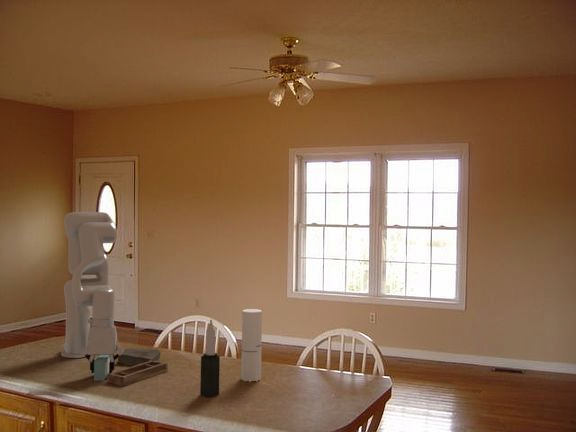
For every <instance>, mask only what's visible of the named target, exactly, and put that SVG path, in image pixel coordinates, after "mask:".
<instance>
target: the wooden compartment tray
mask: <svg viewBox="0 0 576 432" xmlns="http://www.w3.org/2000/svg"><path fill="white" fill-rule="evenodd" d="M168 365H169V364H168V363H167V362H162V361H159V360H157V361H153V360H150V361H148V362H145V363H142V364H139V365H136V366H129V367H126V368H123V369H120V370H117V371H114V372H113V371H112V373H108V374H107V377H106V382H107V383H108V384H112V385H113V384H114V385H117V386H121V387H126V386H130V385H133V384H135V383H138V382H140V381H141V382H142V381H143V380H147V379H150V378H151V377H155V376H158V375H161V374H164V373H166V372H168V370H169V369H168Z"/></svg>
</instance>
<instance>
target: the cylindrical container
mask: <svg viewBox="0 0 576 432" xmlns="http://www.w3.org/2000/svg"><path fill="white" fill-rule="evenodd" d="M241 311H242V317H241V318H242V321H241V324H242V326H241V362H240V363H241V364H240V365H241V367H240V368H241V369H240V370H241V371H240V373H241V374H240V379H242V380H244V381H243V382H246V381H249V382H248V383H252V382H251V381H256V382H259V381H261V380H260V379H261V378H262V340H263V339H262V336H263V335H262V331H263V330H262V328H263V310H261V309H260V308H259V309H257V308H246V309H243V310H241ZM242 380H241V381H242ZM258 380H259V381H258Z"/></svg>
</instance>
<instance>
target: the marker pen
mask: <svg viewBox="0 0 576 432" xmlns="http://www.w3.org/2000/svg"><path fill="white" fill-rule="evenodd" d="M213 324H214V323H213V319H209V324H208V327H207V328H206V336H205V337H206V339H205V343H206V344H205V353H203V355H201V356H200V386H199V387H200V392H199V393H200V394H199V395H200V396H201V397H205V398H214V397H215V396H218V395H220V365H221V364H220V362H221V361H220V360H221V359H220V355H218V353H216V328H215V327H214V325H213Z"/></svg>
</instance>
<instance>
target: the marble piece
mask: <svg viewBox="0 0 576 432" xmlns="http://www.w3.org/2000/svg"><path fill="white" fill-rule="evenodd" d="M123 350H124V352H123V353H122V354H121V355H120V356H119V357H118V358H117V363H118V364H120V365H122V366H123V365H124V366H129V367H132V366H136V365H139V364H142V363H145V362H148V361H150V360H153V361H159V359H161V350H159V349H151V348H134V347H133V348H130V347H129V348H125V349H123Z"/></svg>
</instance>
